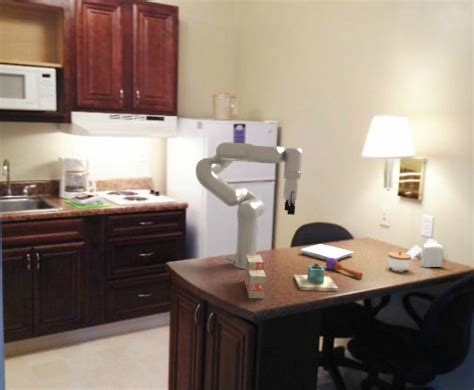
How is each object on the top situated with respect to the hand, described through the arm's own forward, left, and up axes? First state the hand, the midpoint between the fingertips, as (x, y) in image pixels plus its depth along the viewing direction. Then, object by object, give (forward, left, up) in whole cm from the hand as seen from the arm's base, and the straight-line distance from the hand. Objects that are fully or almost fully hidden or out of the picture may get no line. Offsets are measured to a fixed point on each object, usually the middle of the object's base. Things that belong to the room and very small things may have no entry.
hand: (289, 212), depth 228 cm
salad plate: (+27, +33, -29) cm, 52 cm away
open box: (+11, -16, -27) cm, 33 cm away
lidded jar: (+58, +12, -28) cm, 66 cm away
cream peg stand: (+11, -16, -28) cm, 34 cm away
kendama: (+28, +2, -29) cm, 40 cm away
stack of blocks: (-16, -26, -29) cm, 42 cm away
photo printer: (+78, +20, -29) cm, 85 cm away
